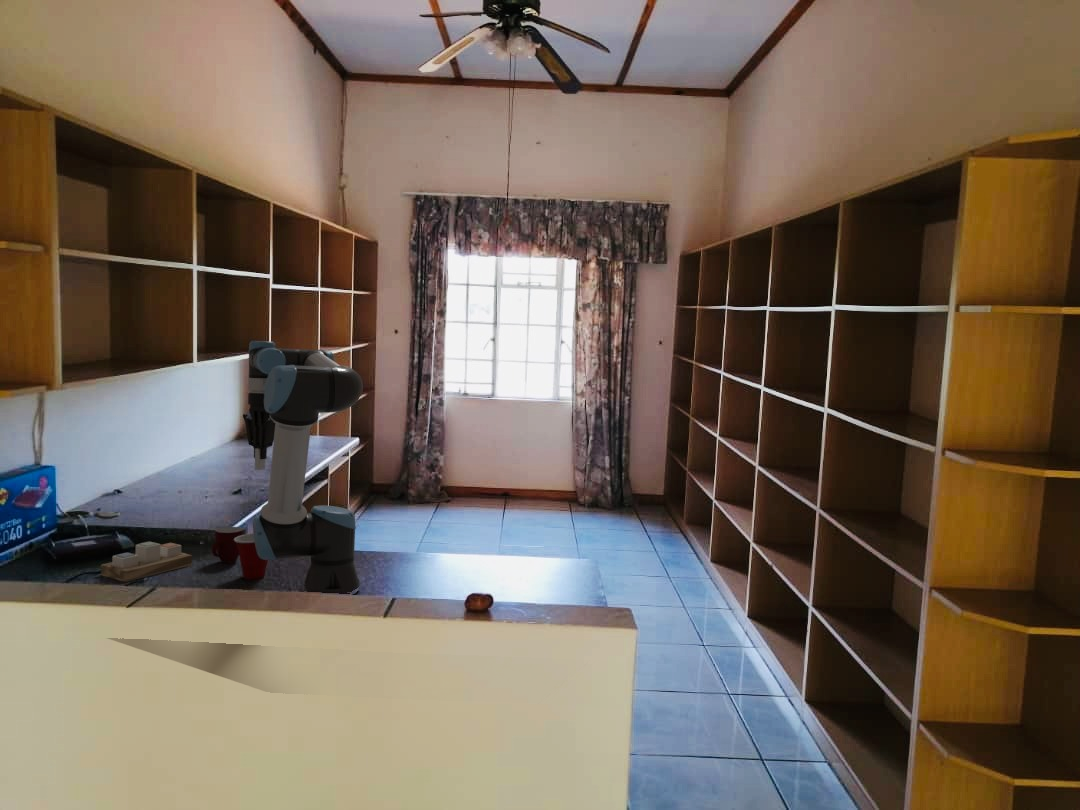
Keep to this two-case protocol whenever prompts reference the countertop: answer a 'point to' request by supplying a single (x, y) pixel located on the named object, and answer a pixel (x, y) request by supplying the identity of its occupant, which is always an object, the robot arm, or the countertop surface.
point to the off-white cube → (125, 560)
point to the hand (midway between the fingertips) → (259, 469)
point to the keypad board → (146, 568)
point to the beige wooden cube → (148, 552)
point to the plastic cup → (250, 557)
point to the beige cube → (170, 550)
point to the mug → (226, 544)
